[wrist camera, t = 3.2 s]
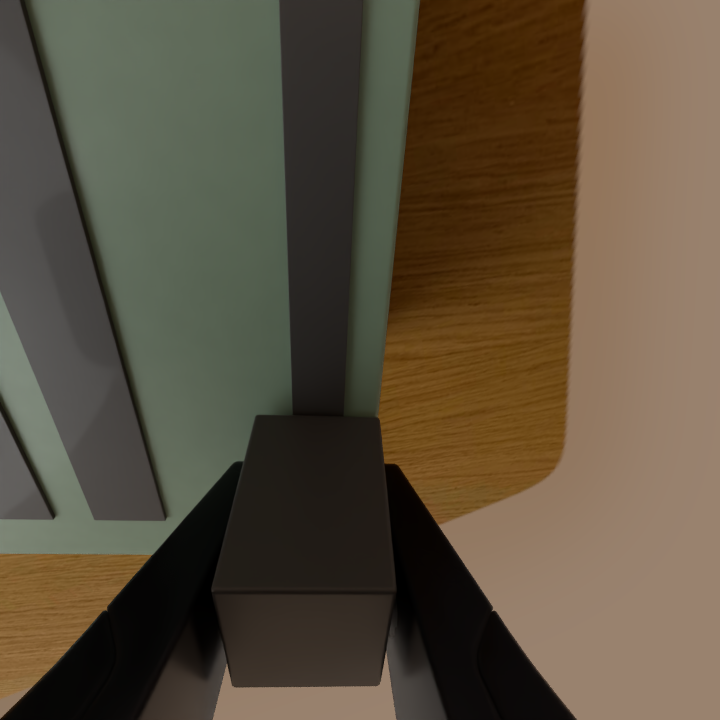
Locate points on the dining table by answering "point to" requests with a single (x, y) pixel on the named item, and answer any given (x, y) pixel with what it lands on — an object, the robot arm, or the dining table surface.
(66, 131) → the toaster
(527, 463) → the dining table surface
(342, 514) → the slider
